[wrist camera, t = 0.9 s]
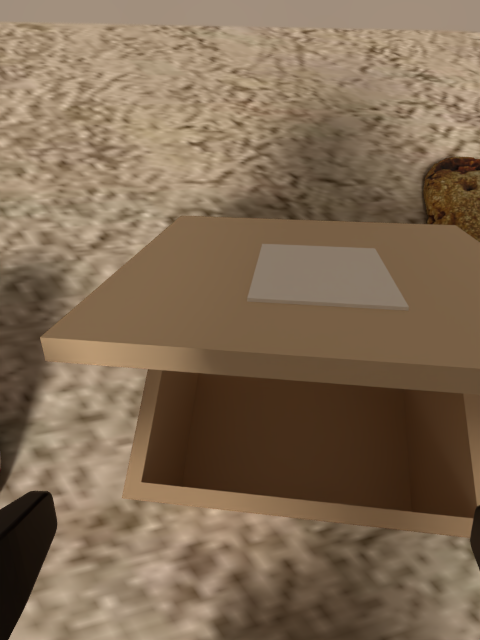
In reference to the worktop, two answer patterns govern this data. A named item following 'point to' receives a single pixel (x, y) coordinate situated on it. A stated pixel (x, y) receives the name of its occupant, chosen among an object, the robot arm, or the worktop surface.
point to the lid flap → (289, 304)
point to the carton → (309, 451)
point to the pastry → (454, 194)
